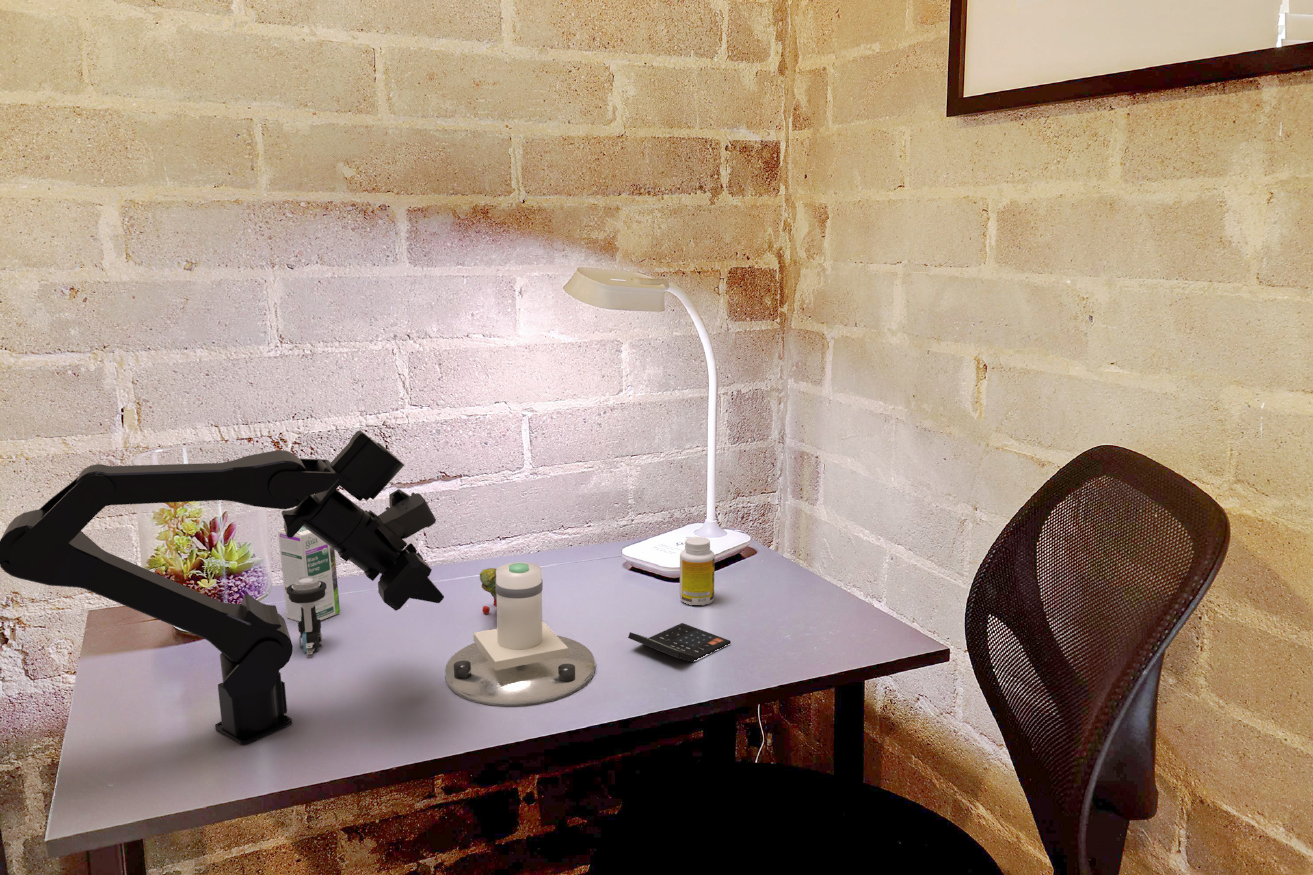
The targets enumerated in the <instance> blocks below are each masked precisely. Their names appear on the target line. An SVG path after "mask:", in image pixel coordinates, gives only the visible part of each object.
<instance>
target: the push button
mask: <svg viewBox="0 0 1313 875" xmlns="http://www.w3.org/2000/svg"><path fill="white" fill-rule="evenodd" d="M325 589H326V583H325V582H322V581H319V578H318V577H315V576H304V577H300V578H297V579H295V580H294V581H293V584H292V585H290V586H288V587H287V589H286V591H287V594H289V599H290V600H291V602H294V603H296V604H299V605H302V607H301V614H302V616H301V621H300V622H298V623H297V628H298V632H299V634H300V635H299V636H298V640H299V648H301V647H302V648H303V653H304V654H305V653H306V655H313V653H315V652H317V651H318V646H319V644H321V646H323V634H322V632H321V629H322V622H321V621H322V620H320V619H317V613H316V610H315V605H314V603H316V602H318V601H319V600H320V599H322V598H324V596H325ZM301 639H302V640H301Z"/></svg>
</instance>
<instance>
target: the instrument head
mask: <svg viewBox="0 0 1313 875" xmlns="http://www.w3.org/2000/svg"><path fill="white" fill-rule="evenodd" d="M495 569H496V582H495V584H496V595H497V607H496V628H494V629H487V630H482V631H477V632H473V643H476V645H477V646H478V648H479V649H480V650H481V652H482V653H483V654H484V656H485V657H486V658H487V660H488V661H489V663H490V664H491V665H492V667H493V668H494V669H495V671H496V670H501V669H506V668H511V667H516V666H521V665H526V664H531V663H537V662H542V661H547V660H552V659H557V658H562V657H567V656H568V647H567V646H566V645H565V644H564V643H563V642H562V641H561V640H560V639H559V638H558V637H557V636H558V635H557V634H556V633H555V632H554V631H553V630H552V629H551V627H549V626H548V624H546V623H545V621H544V620H543V587H544V586H543V574H542V567H541V566H540V565H539V564H536V563H532V562H526V561H525V562H524V561H518V562H516V561H515V562H510V563H506V564H505V563H504V564H502V565H500V566H498V567H497V568H495Z"/></svg>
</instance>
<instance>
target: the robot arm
mask: <svg viewBox="0 0 1313 875" xmlns="http://www.w3.org/2000/svg"><path fill="white" fill-rule="evenodd" d="M403 467H405V464H404V463H403V462H402V461H401V460H400V459H399V458H398V457H397V456H395V454H393V453H392V452H391V451H389V450H388V449H387V448H386V447H384V445H383V444H382V443H380V442H379V441H377V442H376V441H375V440H374V439H372V438H371V437H370V436H368V435H367V434H366V433H364V431H362V430H360V429H359V430H357V431H356V432H355V433H354V435H352V437H351V438H350V440H349V442H348V443H347V444H346V446H344V448H343V449H342V450H341V451H339V453H338V454H337V455H336V456H335V457H334V458H333V460H332V461H329V459H326V458H325V459H324V458H300V457H298V456H297V455H296V454H295V453H293V452H291V451H288V450H284V449H283V450H282V449H278V450H272V451H266V452H265V451H264V452H261V453H256V454H250V455H249V454H248V455H247V456H246V455H245V456H242V457H239V458H236V459H234V460H228V461H224V462H212V463H211V462H209V463H208V462H206V463H205V462H204V463H174V464H173V463H171V464H143V465H142V464H141V465H139V464H135V465H105V464H101V463H100V464H98V463H97V464H92V465H91V464H90V465H89V466H87V467H85V468H84V469H83V470H82V471H81V472H80V473H79V474H78V476H77V477H76V478H74V480H73V481H72V482H70V483H69V484H67V485H66V486H65V487H64V488H63V489H61V490H60V491H59V492H57V493H56V494H55V495H53V496H52V497H51V498H50V499H48V501H46V503H44V504H43V505H42V506H41V507H40V508H39V509H34V510H30V511H25V512H23V513H21V514H19V515H16V517H14V518H13V520H11V521H10V522H9V524H8V525H7V527H6V529H5V531H4V533H3V534H2V536H1V538H0V568H1V569H2V570H3V572H4V573H6V574H8V575H9V576H11V577H14V578H15V579H16V578H17V579H20V580H24V581H29V582H32V583H36V584H41V585H46V586H48V587H49V586H50V587H62V588H63V587H65V588H77V589H82V590H86V591H88V592H91V593H93V594H95V595H98V596H100V597H103V598H106V599H108V600H110V601H113V602H116V603H118V604H120V605H123V606H125V607H127V608H129V609H132V610H134V611H136V612H140V613H142V614H144V615H146V616H149V617H151V618H154V619H156V620H158V621H161V622H163V623H166V624H169V625H171V626H173V627H175V628H178V629H180V630H183V631H184V632H185V631H186V632H188V633H191V634H192V635H195V636H197V637H198V638H199V637H200V638H201V639H204V640H206V641H208V643H211V645H212V646H213V647H215V648H216V649H217V650H218V651H219V652H220V653H219V662H220V670H221V678H222V679H221V680H222V682H220V683H219V684H217V692H218V699H219V700H218V703H219V708H220V709H219V710H220V720H221V721H219V722H217V723H215V724H214V729H215V730H217V731H218V732H220V733H222V734H223V735H225V736H227V738H230V739H232V740H233V741H235V742H237V743H239V744H240V745H247V744H249V743H251V742H254V741H256V740H258V739H261V738H263V737H265V736H267V735H269V734H272V733H274V732H276V731H278V730H280V729H282V728H286V727H287V726H289V725H292V723H293V718H291V717H290V716H288V715H286V714H287V712H288V705H287V704H288V702H287V695H286V694H287V693H286V682H284V681H282V676H281V675H282V674H281V672H280V670H281V669H283V668H284V667H285V666H286V665H287V664H288V663H289V662H290V659H291V657H292V655H293V648H294V646H293V642H292V639H291V636H290V633H289V629H288V627H287V625H288V624H287V622H286V620H285V618H284V617H283V616H282V615H281V614H280V613H278V608H277V606H276V605H274V604H273V605H272V604H265V603H262V602H261V601H260V600H257V598H254V597H253V596H251V595H249V594H248V593H246V594H244V596H243V598H242V600H241V603H232V602H230V603H228V602H223V601H220V600H217V599H215V598H213V597H211V596H208V595H206V594H204V593H201V592H199V591H197V590H194V589H193V588H191V587H188V586H185V585H183V584H181V583H178V582H176V581H174V580H172V579H170V578H167V577H165V576H163V575H160V574H158V573H155V572H153V571H152V570H149V569H147V568H145V567H142V566H140V565H138V564H136V563H133V562H131V561H128V560H127V559H124V558H122V557H119V556H117V555H115V554H113V553H110V552H108V551H106V550H104V549H102V548H101V547H100V546H99V545H98V544H96V543H95V541H93V540H92V539H91V538H90V537H89V536H88V535H87V534H85V533H84V532H83V531H82V530H84V529H85V527H86V526H87V525H88V524H89V523H90V522H91V521H92V520H93V519H94V518H95V517H96V516H97V515H98V514H99V513H100V512H101V511H102V510H103V509H105V507H108V506H122V505H126V506H127V505H148V504H166V503H167V504H168V503H187V502H189V503H192V502H194V503H195V502H210V501H211V502H212V501H213V502H214V501H216V502H217V501H224V502H225V501H226V502H233V503H238V504H242V505H247V506H250V507H251V506H252V507H255V508H256V507H257V508H265V509H266V508H267V509H276V510H282V511H281V516H282V518H283V523H284V524H283V529H284V530H285V532H286V535H287V537H288V538H292V537H293V536H294V535H295V534H296V533H297V532H298V531H299V530H300V529H301V527H302V526H303V527H305V528H306V529H307V530H309V531H310V532H312V533H313V534H314V535H316V536H317V537H318V538H320V539H321V540H322V541H324V542H325V543H326V544H328V545H329V546H331V547H332V548H333V549H335V552H337V553H338V555H339V558H341V560H343V561H345V562H348V561H350V562H351V563H352V564H353V565H355V566H356V567H357V568H359V569H360V570H362V571H363V572H364V575H365V576H366V578H367V579H369V580H370V581H372V582H374V581H375V579H377V577H378V576H380V577H379V581H378V582H377V588H378V590H377V591H378V594H379V596H380V597H381V600H382V601H383V603H385V604H386V605H388V607H390V608H392V610H394V611H395V612H397V611H399V610H401V608H402V607H403V606H404V605H405V604H406V603H407V601H408V600H410V599H413V600H418V601H424V602H430V603H434V604H440V603H441V602H442V601H443V599H445V596H444V595H443V593H442V592H441V591H440V589H439V588H438V587H437V586H436V585H435V584H434V582H433V581H432V580H431V579H430V575H431V573H432V568H431V567H430V565H429V564H428V563H427V562H426V561H425V559H424V557H423V556H422V555H421V553H420V552H419V551H418V552H417V548H416V547H415V546H414V544H413V543H412V542H411V543H407V542H406V541H405V539H407V538H410V537H411V536H413V535H414V534H415V535H416V533H418V532H419V531H422V530H423V529H425V528H430V527H432V526H433V525H434V524H435V523H436V522H437V518H436V517H435V515H434V513H433V511H432V509H431V508H430V506H429V505H428V503H427V501H426V498H424V497H423V496H422V495H421V493H416V492H414V491H413V492H411V495H409V494H408V493H406V492H405V491H403V490H402V489H400V488H398V489H396V490H395V491H393V492H391V493H389V506H387V507H385V511H383V512H381V513H380V514H379V515H377V513H375V512H373V511H372V510H371V509H369V510H367V509H365V510H364V509H363V508H361V507H360V506H359V505H357V503H355V502H354V501H352V500H351V499H350V498H349V497H347V496H346V495H344V494H343V493H342V492H341V491H340V490H338V488H339V487H340V488H342V489H343V490H345V492H347V493H348V494H349V495H351V496H352V497H353V498H355V500H358V501H359V502H362V501H363V500H364V501H366V502H368V500H370V499H371V500H375V499H376V498H377V496H378V495H379V494H380V493H381V492H382V491H383V490H384V488H386V486H387V485H388V484H389V483H390V482H391V481H392V480H393V478H395V476H396V475H397V474H398V473H399V472H400V471H401V470H402V469H403Z"/></svg>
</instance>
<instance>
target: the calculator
mask: <svg viewBox="0 0 1313 875" xmlns="http://www.w3.org/2000/svg"><path fill="white" fill-rule="evenodd" d="M627 638H628V639H629V640H632V641H635V642H637V643H639V644H642V645H645V646H647V647H650V648H652V649H654V650H656V651H659V652H662V653H664V654H667V655H669V656H671V657H674V658H676V659H681V660H683V661H688V662H691V663H694V662H693V661H694V660H697V659H698V658H701V657H703V656H705V655H706V654H710V653H711V652H714V651H715V650H717V649H720V648H722V647H724V646H725V645H728V644H730V643H731V642H732V641H731V640H729V639H727V638H724V637H722V636H719V635H715V634H714V633H711V632H708V631H706V630H702V629H700V628H697V627H694V626H691V625H690V624H686V623H684V622H681V623H679V624H677V625H674V626H672V627H670V628H667V629H665V630H663V631H661V632H659V633H657V634H654V635H652V636H650V637H648V636H647V637H646V636H643V635H640V634H638V633H633V632H631V631H630V632H629V634H628V636H627ZM714 653H715V652H714ZM710 655H711V654H710Z"/></svg>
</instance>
